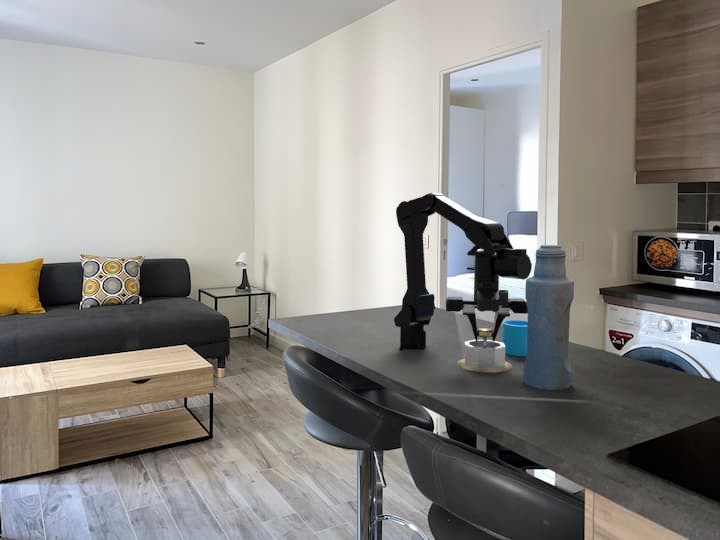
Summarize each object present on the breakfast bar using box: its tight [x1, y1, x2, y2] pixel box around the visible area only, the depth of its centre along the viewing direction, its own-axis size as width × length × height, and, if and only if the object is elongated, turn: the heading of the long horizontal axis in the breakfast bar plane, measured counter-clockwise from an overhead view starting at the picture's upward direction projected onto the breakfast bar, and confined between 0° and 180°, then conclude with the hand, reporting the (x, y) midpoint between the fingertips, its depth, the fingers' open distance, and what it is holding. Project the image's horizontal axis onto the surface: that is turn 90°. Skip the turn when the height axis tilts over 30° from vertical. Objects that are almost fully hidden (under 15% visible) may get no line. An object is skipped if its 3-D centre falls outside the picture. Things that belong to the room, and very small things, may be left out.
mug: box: [501, 319, 528, 357], centre depth 149 cm, size 12×8×8 cm
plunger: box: [477, 327, 493, 348], centre depth 134 cm, size 6×6×7 cm
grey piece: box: [463, 338, 506, 370], centre depth 136 cm, size 9×12×5 cm
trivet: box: [456, 358, 513, 373], centre depth 134 cm, size 13×13×1 cm
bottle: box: [522, 244, 575, 391], centre depth 119 cm, size 10×10×30 cm
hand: (484, 340), depth 134 cm, fingers closed on plunger, 4 cm apart
